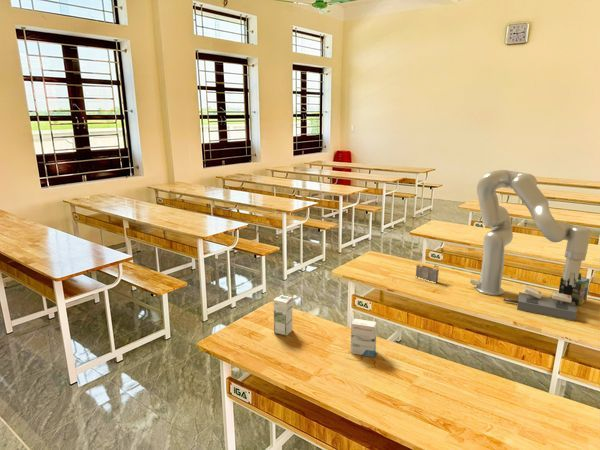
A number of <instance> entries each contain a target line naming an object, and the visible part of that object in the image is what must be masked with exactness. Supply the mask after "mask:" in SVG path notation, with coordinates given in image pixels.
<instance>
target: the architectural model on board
mask: <svg viewBox="0 0 600 450" xmlns="http://www.w3.org/2000/svg"><path fill="white" fill-rule="evenodd" d="M439 267H440V266H439V265H436V264H434V266H433V267H430V266H426V265H422V266H421V265H420V264H417V265H416V270H415V277H416V276H417V277H420V278H423V279H426V280H429V281H433V282H437V281H438V282H439V273H440V272H439V269H438V268H439ZM438 282H437V283H438Z"/></svg>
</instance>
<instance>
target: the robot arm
mask: <svg viewBox="0 0 600 450" xmlns="http://www.w3.org/2000/svg"><path fill="white" fill-rule="evenodd" d="M537 185H538V179H537V178H536V177H535V175H533V174H532V173H526V172H519V171H515V170H514V171H513V170H507V169H498V170H493V171H490V172H488V173H485V175H483V176H481V178H480V179H479V181H478V183H477V185H476V193H477V198H478V203H479V204H478V206H479V210H480V215H481V220H482V224H483V225H484V226H486V227H487V228H491V230H490V231H488V232H487V233H486V234H485V235H484V237H483V242H482V244H483V253H482V261H481V263H482V265H481V270H480V271H481V272H480V278H479V279H478V280H475V279H470V284H472V285H473V286H475V291H477V292H478V293H480V294H483V295H487V296H497V297H498V296H501V295H503V294H504V289H503V288H501V287H502V279H503V273H504V265H505V246H508V245H509V244H510V243H511V242H512V240H513V238H514V237H513V235H514V234H513V227H512V223H511V217H510V214H509V211H508V210H507V209H506V208H505V207H504V206H501V205H500V203H499V198H498V195H497V193H496V190H497V189H501V188H507V189H511V190H513V192H514V193H515V194H516V195H517V197H518V198H519V199H520V201H521V202H522V203H523V204H524V206H525V207H526V209H527V210H528V212H529V214H530V216H531V218H532V221H534V224H535V226H536V227H537V229H538V230H539V231H540V232H541V234H542V236H544V238H545V239H546V240H548V241H550V242H551V243H560V242H562V241H564V240H567V242H566V247H565V251H564V258H565V263H564V267H563V272H562V277H563V279H564V281H565V280H566V282H565V284H566V285H564V290H563V294H566V295H572V291H573V285H574V281H575V282H577V280H578V276H579V273H580V271H581V266H582V262H583V261H586V257H587V253H588V248H589V245H590V239H591V234H592V231H591V229H590V228H588V226H587V227H585V226H580V225H573V224H571V223H566V222H563V221H561V222H560V221H559V222H557V220H556V219H555V218H554V217H553V215H552V213H551V211H550V207H549V200H548V198H547V197H546V196H545V194H544V193H543V192H542V191H541V190H540V188H539V187H538V186H537Z"/></svg>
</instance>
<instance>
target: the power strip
mask: <svg viewBox="0 0 600 450" xmlns="http://www.w3.org/2000/svg"><path fill="white" fill-rule="evenodd" d="M503 301H504V302H508V303H513V304H517V306H516V310H518V311H523V312H527V313H534V314H539V315H543V316H548V317H553V318H558V319H564V320H568V321H574V322H576V319H577V313H578V311H577V306H576V305H575V302H571V303H570V302H565V301H561V300H557V299H553V297H549V296H544V295H542V296H541V298H537V297H535V296H533V295H530V294H528V293H526V292H521V291H519V292H518V300H514V299H510V298H505V297H504V298H503Z"/></svg>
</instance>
